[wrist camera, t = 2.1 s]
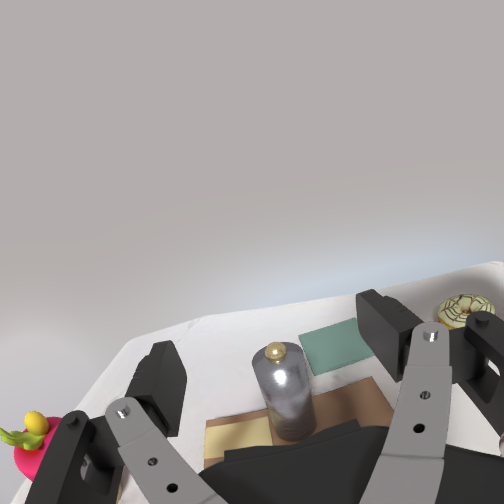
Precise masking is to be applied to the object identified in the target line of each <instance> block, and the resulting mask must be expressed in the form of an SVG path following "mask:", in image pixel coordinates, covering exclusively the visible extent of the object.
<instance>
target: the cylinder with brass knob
mask: <svg viewBox="0 0 504 504" xmlns="http://www.w3.org/2000/svg"><path fill="white" fill-rule="evenodd" d="M252 366H253V369H254V372H255V375H256V378H257V380H258V383H259V386H260V389H261V392H262V395H263V397H264V400H265V403H266V406H267V409H268V411H269V414H270V417H271V420H272V422H273V425H274V428H275V431H276V433H277V435H278V436H279V437H280V438H281V439H283V440H285V441H289V442H296V441H301V440H304V439H306V438H308V437H309V436H310V435H312V434H313V432H314V431H315V429H316V426H317V421H316V416H315V410H314V405H313V400H312V394H311V389H310V384H309V379H308V374H307V369H306V364H305V359H304V354H303V350H302V349H301V347H300V346H298V345H297V344H294V343H290V342H272V343H270V344H269V345H268V346H266V347H264V348H262V349H261V350H259V351H258V352H257V353H256V354H255V355H254V357H253V359H252Z"/></svg>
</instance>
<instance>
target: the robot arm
mask: <svg viewBox="0 0 504 504" xmlns="http://www.w3.org/2000/svg"><path fill="white" fill-rule="evenodd" d="M356 310H357V322H358V329H359V333H360V335H361V337H362V339H363V340H364V341H365V343H366V344H367V345H368V346H369V348H370V349H371V350H372V352H373V353H374V354H375V356H376V357H377V358H378V359H379V361H380V362H381V363H382V365H383V366H384V367H385V369H386V370H387V371H388V373H389V374H390V375H391V377H392V378H393V379H394V381H395V382H396V383H397V382H399V381H401V380H402V384H401V388H400V392H399V396H398V400H397V404H396V408H395V411H394V415H393V418H392V422H391V425H390V427H389V426H381V425H369V426H360V425H359V423H358V421H357V418H356V419H353V420H350V421H347V422H344V423H341V424H338V425H335V426H332V427H329V428H326V429H324V430H322V431H320V432H318V433H316V434H314V435H312V436H310V437H308V438H306V439H304V440H302V441H300V442H297V443H295V444H292V445H272V446H251V447H245V448H239V449H232V450H225V451H224V460H222V461H219V462H217V463H215V464H213V465H211V466H209V467H207V468H206V469H204V470H203V471H201V472H200V473H199V474H197V473H196V472H195V471H194V470H193V469H192V468H191V467H190V466H189V465H188V463H187V462H186V461H185V460H184V459H183V458H182V457H181V456H180V454H179V453H178V452H177V451H176V450H175V449H174V447H173V446H172V445H171V444H170V443H169V441H168V440H167V437H178V431H179V425H180V419H181V413H182V407H183V401H184V395H185V390H186V384H187V375H186V371H185V368H184V366H183V363H182V361H181V359H180V357H179V355H178V352H177V350H176V348H175V345H174V344H173V342H172V341H171V340H169V341H163V342H158V343H154V344H153V347H152V349H151V352H150V354H149V355H147V356H145V357H144V358H143V359H142V360H141V361H140V362H139V364H138V366H137V368H136V372H135V373H134V375H133V379H132V380H131V382H130V385H129V387H128V390H127V392H126V394H125V397H124V398H120V399H118V400H116V401H114V402H112V403H111V404H110V405H109V406H108V408H107V409H106V412H105V415H104V416H100V417H97V418H93V419H89V417H88V416H87V415H86V413H85V412H83V411H80V410H76V411H72V412H70V413H68V414H66V415H65V416H64V417H63V418H62V419H61V421H60V422H59V424H58V426H57V428H56V430H55V433H54V435H53V437H52V439H51V441H50V443H49V445H48V448H47V450H46V452H45V454H44V456H43V459H42V461H41V463H40V466H39V468H38V470H37V473H36V475H35V478H34V480H33V483H32V485H31V488H30V490H29V493H28V496H27V498H26V501H25V504H116V501H117V496H118V491H119V485H120V480H121V475H122V470H123V466H124V465H126V466H127V468H128V470H129V471H130V473H131V475H132V477H133V478H134V480H135V482H136V483H137V485H138V486H139V488H140V490H141V491H142V493H143V494H144V496H145V497H146V499H147V500H148V502H149V503H150V504H504V321H502V320H501V319H500V318H498V317H497V316H495V315H494V314H493V313H491V312H488V311H475V312H472V313H470V314H469V315H468V316H467V318H466V323H465V326H464V327H459V328H455V329H451V330H448V328H447V327H446V326H445V325H443V324H441V323H438V322H423V321H422V320H421V319H420V318H419V317H417V316H416V315H415V314H414V313H412V312H411V311H410V310H408V308H406V307H405V306H404V305H402V304H401V303H400V302H399V301H398V300H396V299H394V298H391V297H388V296H384V297H382V296H381V295H380V294H379V293H377V292H376V291H375V290H374V289H370V290H367V291H364V292H361V293H358V294H356ZM489 360H490V361H491V362H492V363H494V364H495V365H496V366H497V368H498V369H499V372H500V376H499V375H498V374H497V373H496V372H495V371H494V370H493V369H492V368H491V367H490V366H489V365H488V362H489ZM455 383H458V384H459V386H460V387H461V388H462V389H463V390H464V392H465V393H466V394H467V395H468V396H469V398H470V399H471V400H472V401H473V403H474V404H475V405H476V406H477V408H478V409H479V410H480V411H481V413H482V414H483V415H484V417H485V418H486V419H487V420H488V422H489V423H490V424H491V426H492V427H493V428H494V430H495V431H496V432H497V434H498V435H499V436H500V441H499V449H500V452H501V455H500V456H497V455H491V454H486V453H482V452H477V451H473V450H468V449H464V448H460V447H456V446H452V445H449V444H446V438H447V431H448V423H449V414H450V402H451V386H452V384H455ZM84 458H85V459H86V460H87V461H88V462H89V465H88V468H87V471H86V474H85V478H84V480H83V478H82V476H81V467H82V463H83V460H84Z"/></svg>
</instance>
